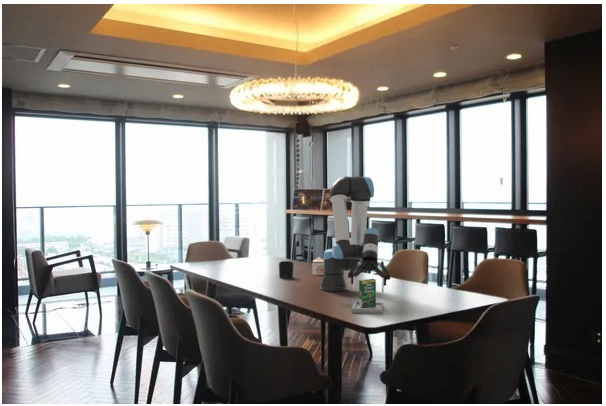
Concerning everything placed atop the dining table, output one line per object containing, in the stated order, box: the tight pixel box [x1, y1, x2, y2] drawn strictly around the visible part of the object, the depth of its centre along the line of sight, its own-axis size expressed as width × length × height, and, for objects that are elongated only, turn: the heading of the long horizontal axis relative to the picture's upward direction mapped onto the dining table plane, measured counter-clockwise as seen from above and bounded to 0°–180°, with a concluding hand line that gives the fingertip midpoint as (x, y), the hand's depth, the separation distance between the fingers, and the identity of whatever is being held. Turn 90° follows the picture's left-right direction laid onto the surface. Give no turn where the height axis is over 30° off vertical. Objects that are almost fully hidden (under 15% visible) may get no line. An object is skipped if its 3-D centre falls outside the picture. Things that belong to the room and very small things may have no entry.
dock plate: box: [351, 300, 384, 315], centre depth 243 cm, size 14×16×2 cm
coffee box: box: [358, 278, 377, 308], centre depth 243 cm, size 8×3×13 cm, turn 115°
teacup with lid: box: [312, 256, 324, 276], centre depth 352 cm, size 12×9×12 cm
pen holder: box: [278, 260, 294, 279], centre depth 336 cm, size 9×9×10 cm
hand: (368, 290), depth 244 cm, fingers open, 13 cm apart
